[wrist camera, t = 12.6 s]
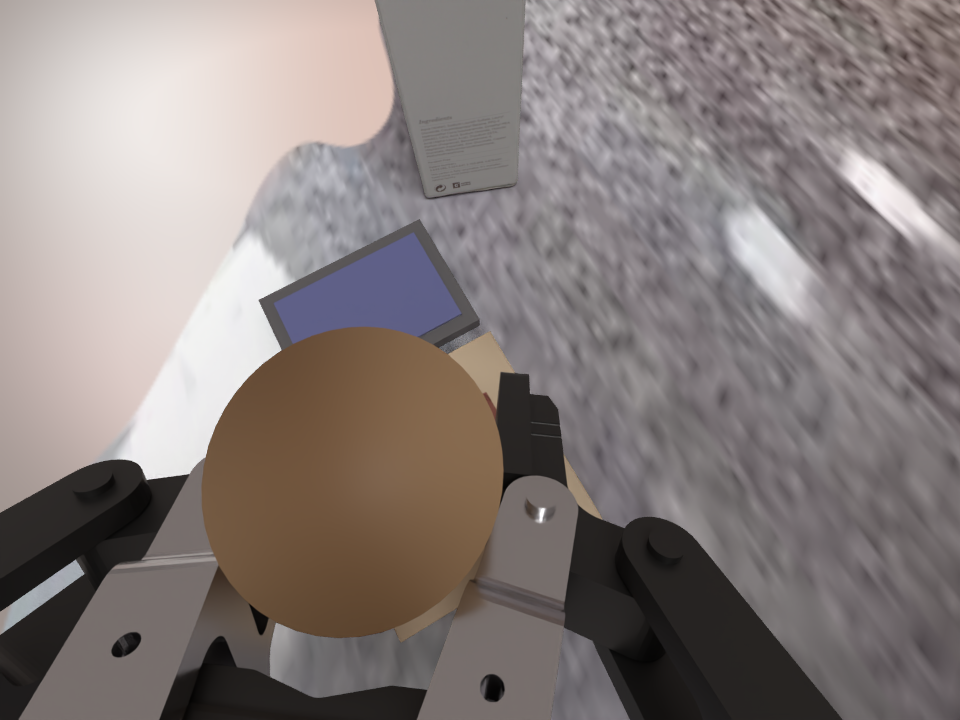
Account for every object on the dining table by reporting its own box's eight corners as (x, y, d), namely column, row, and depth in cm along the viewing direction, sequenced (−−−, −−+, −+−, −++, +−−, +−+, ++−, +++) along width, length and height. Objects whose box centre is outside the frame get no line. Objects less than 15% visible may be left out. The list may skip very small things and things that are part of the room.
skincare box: (518, 187, 27) (552, -131, 13) (420, 203, 27) (345, -103, 13) (494, 78, 30) (501, -301, 15) (403, 91, 29) (323, -279, 15)
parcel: (489, 359, 25) (490, 330, 20) (577, 509, 23) (603, 518, 18) (341, 441, 24) (302, 432, 19) (419, 605, 22) (400, 643, 17)
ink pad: (421, 228, 27) (418, 217, 26) (479, 325, 25) (479, 317, 24) (267, 306, 26) (256, 298, 25) (317, 412, 24) (308, 409, 23)
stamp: (463, 391, 16) (433, 240, 6) (526, 505, 15) (614, 547, 5) (350, 453, 16) (114, 395, 6) (408, 575, 15) (245, 777, 5)
